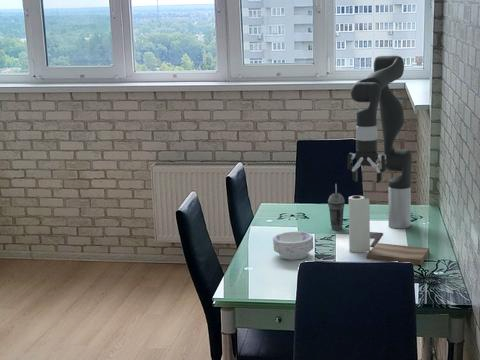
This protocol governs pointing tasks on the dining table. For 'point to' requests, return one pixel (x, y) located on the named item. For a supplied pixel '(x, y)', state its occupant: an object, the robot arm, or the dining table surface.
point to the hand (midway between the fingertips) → (367, 181)
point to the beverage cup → (336, 210)
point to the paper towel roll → (359, 224)
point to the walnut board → (398, 253)
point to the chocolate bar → (374, 238)
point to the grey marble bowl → (293, 244)
